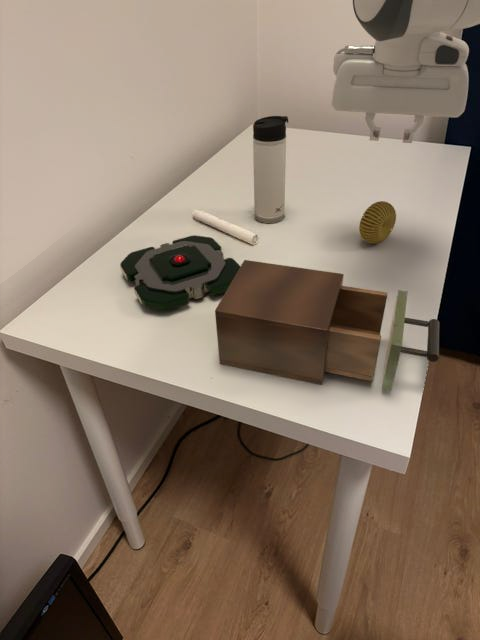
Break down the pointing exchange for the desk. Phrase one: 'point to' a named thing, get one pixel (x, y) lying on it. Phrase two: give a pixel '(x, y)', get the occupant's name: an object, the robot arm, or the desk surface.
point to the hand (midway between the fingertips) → (390, 140)
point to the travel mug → (269, 168)
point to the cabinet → (277, 320)
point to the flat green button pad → (179, 272)
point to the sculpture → (377, 222)
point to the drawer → (371, 335)
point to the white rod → (226, 227)
